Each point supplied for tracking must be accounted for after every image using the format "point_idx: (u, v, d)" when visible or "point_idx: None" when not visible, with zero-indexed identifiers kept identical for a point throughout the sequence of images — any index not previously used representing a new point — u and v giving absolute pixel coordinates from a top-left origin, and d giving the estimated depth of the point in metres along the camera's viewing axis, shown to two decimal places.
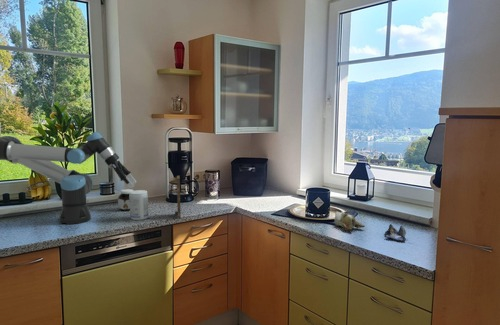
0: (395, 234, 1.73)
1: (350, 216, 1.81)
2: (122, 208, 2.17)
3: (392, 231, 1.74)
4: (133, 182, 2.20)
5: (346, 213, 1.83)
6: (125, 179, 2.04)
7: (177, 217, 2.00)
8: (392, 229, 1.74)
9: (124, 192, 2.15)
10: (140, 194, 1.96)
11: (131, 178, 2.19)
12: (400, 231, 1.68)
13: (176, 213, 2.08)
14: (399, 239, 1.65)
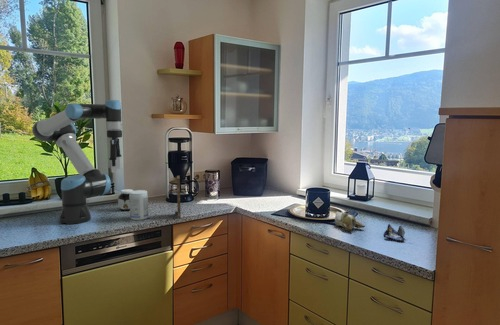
0: (394, 234, 1.73)
1: (350, 216, 1.81)
2: (122, 208, 2.17)
3: (391, 231, 1.74)
4: (117, 167, 2.02)
5: (346, 213, 1.83)
6: (114, 161, 1.88)
7: (177, 217, 2.00)
8: (390, 229, 1.74)
9: (124, 192, 2.15)
10: (140, 194, 1.96)
11: (118, 162, 2.02)
12: (399, 231, 1.68)
13: (176, 213, 2.08)
14: (398, 239, 1.65)
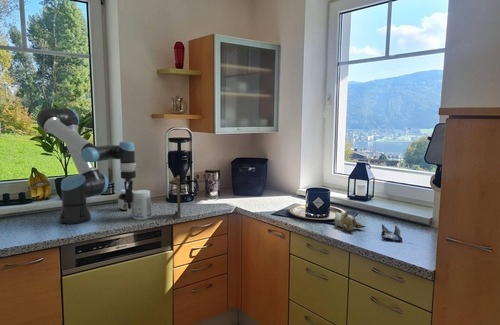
0: (388, 234, 1.73)
1: (350, 216, 1.80)
2: (122, 208, 2.17)
3: (385, 231, 1.73)
4: None
5: (346, 213, 1.82)
6: (129, 203, 1.97)
7: (177, 217, 2.00)
8: (384, 229, 1.74)
9: (124, 192, 2.15)
10: (143, 194, 1.96)
11: None
12: (395, 231, 1.68)
13: (176, 213, 2.08)
14: (396, 239, 1.65)
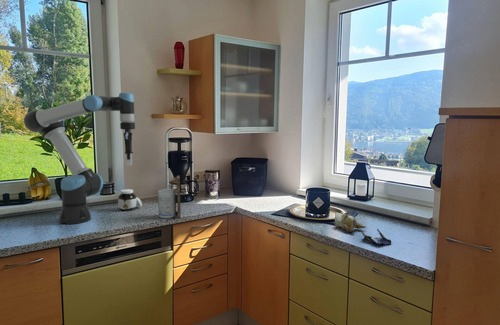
0: None
1: (351, 217, 1.79)
2: (122, 208, 2.17)
3: (365, 237, 1.66)
4: None
5: (347, 214, 1.81)
6: (129, 154, 2.00)
7: (177, 217, 2.00)
8: (364, 235, 1.66)
9: (124, 192, 2.15)
10: (171, 192, 2.00)
11: None
12: (380, 234, 1.64)
13: (176, 213, 2.08)
14: (385, 242, 1.62)
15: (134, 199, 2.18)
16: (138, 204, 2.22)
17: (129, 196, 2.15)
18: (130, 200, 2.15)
